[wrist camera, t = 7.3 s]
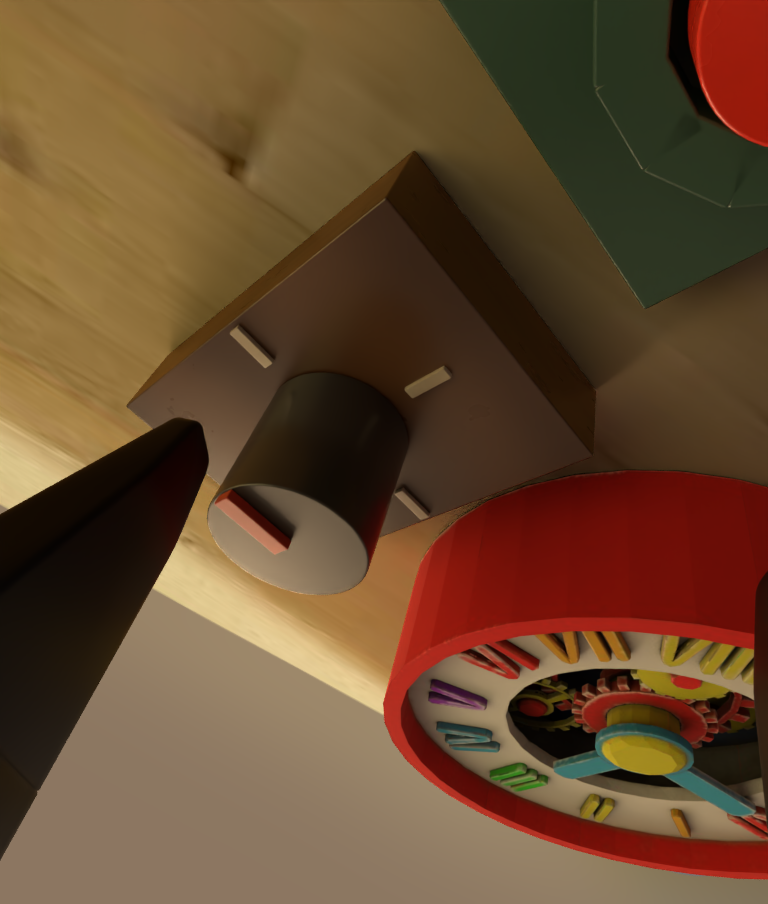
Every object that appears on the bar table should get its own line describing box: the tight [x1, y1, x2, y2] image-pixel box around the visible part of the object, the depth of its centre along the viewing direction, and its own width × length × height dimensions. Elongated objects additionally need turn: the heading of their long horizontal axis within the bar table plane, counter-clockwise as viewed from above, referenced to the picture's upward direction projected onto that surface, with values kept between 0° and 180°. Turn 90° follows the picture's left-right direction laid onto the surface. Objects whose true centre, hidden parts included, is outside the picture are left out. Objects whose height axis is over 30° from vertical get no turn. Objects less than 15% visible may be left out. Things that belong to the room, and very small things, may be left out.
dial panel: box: [127, 151, 596, 537], centre depth 21 cm, size 12×9×3 cm
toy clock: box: [383, 470, 768, 879], centre depth 26 cm, size 20×6×20 cm
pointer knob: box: [207, 372, 408, 595], centre depth 18 cm, size 4×4×5 cm
